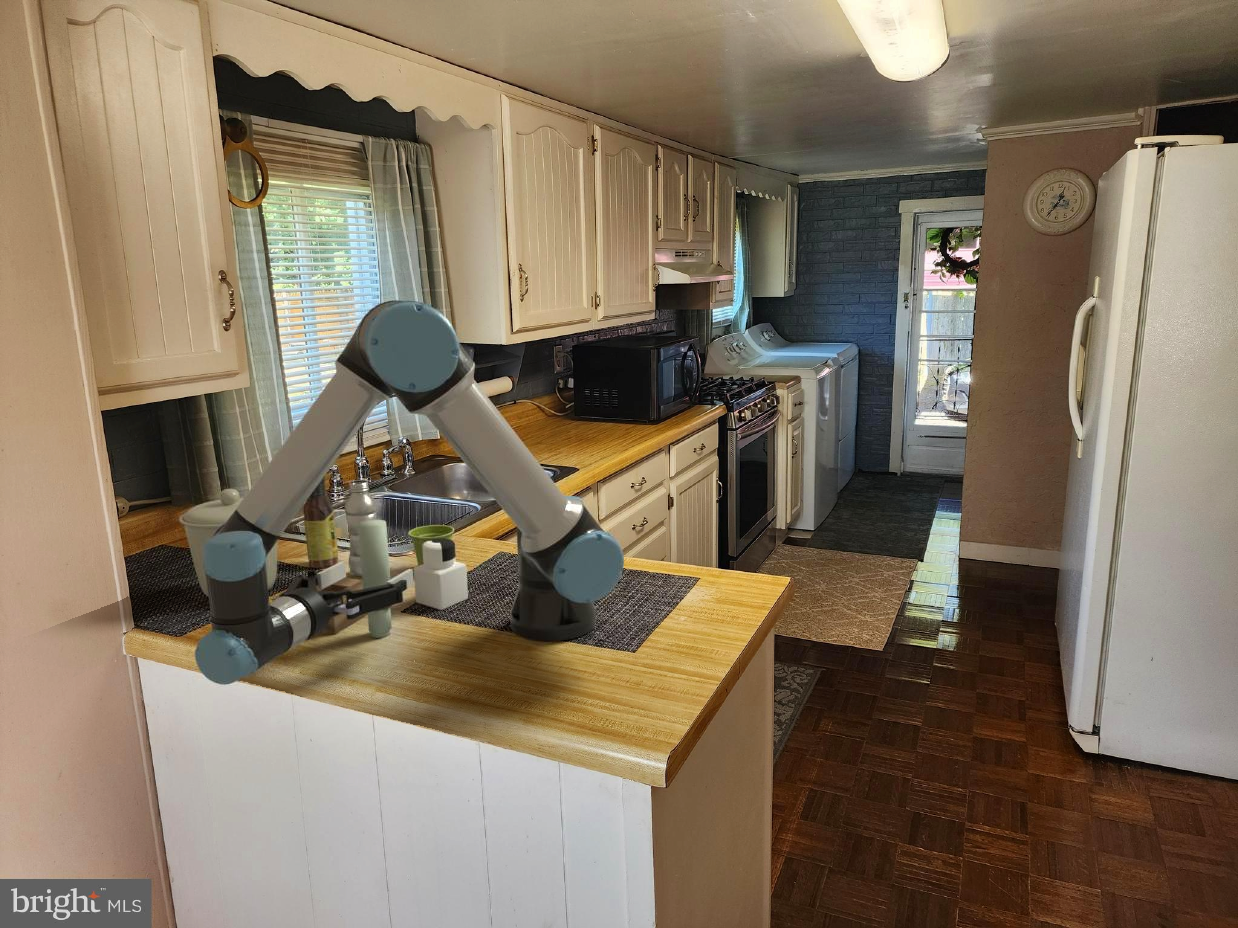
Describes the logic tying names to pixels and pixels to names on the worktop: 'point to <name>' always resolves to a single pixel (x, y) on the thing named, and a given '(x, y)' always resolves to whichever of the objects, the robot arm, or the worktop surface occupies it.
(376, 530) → the stool leg
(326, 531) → the sauce bottle
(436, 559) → the medicine bottle
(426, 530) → the plant pot
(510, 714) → the worktop surface
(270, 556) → the canister
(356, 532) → the plastic bottle
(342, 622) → the wooden holder block
